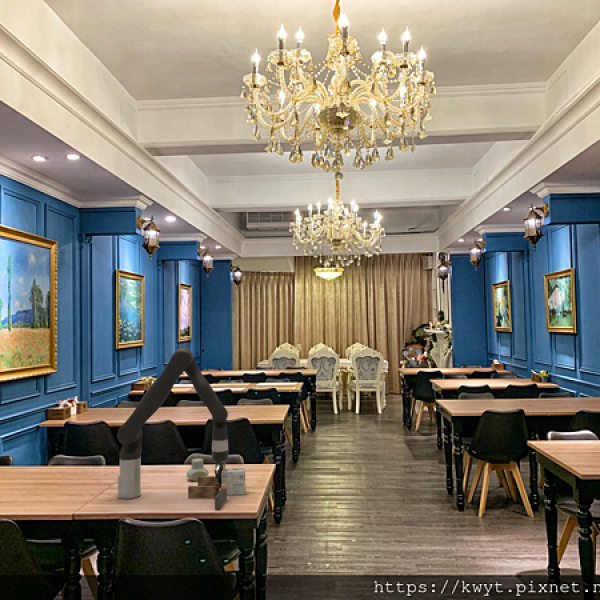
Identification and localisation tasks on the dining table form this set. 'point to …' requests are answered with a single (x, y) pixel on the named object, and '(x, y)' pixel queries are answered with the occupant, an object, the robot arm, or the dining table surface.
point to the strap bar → (221, 497)
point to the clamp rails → (204, 488)
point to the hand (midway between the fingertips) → (220, 487)
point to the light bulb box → (234, 480)
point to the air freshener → (197, 470)
